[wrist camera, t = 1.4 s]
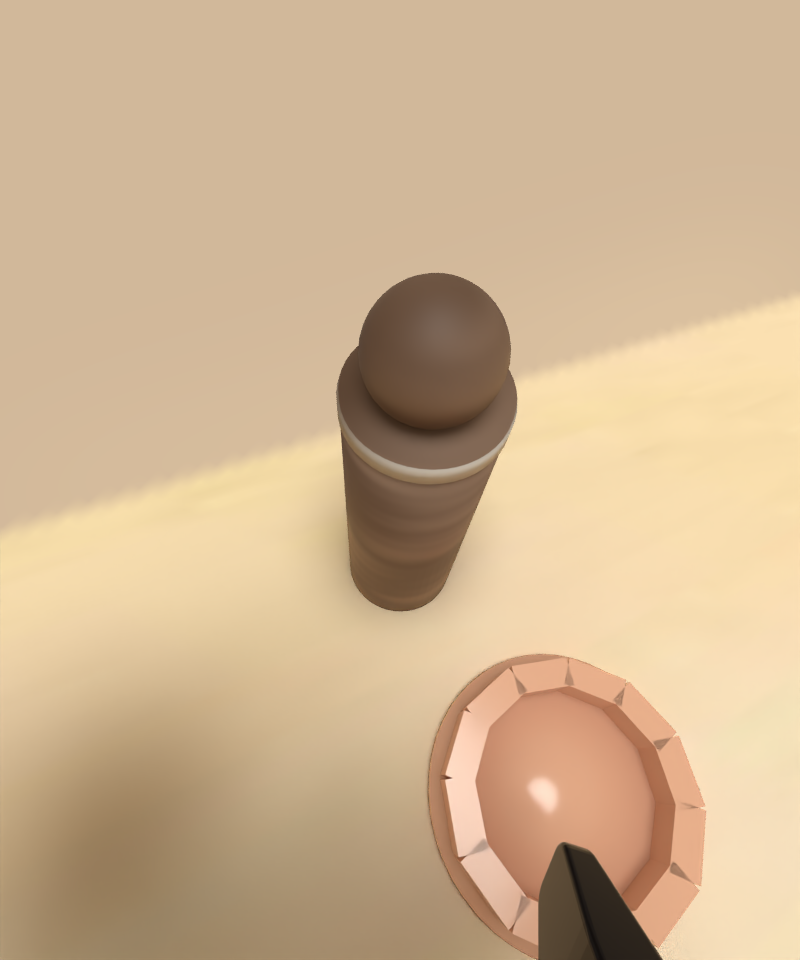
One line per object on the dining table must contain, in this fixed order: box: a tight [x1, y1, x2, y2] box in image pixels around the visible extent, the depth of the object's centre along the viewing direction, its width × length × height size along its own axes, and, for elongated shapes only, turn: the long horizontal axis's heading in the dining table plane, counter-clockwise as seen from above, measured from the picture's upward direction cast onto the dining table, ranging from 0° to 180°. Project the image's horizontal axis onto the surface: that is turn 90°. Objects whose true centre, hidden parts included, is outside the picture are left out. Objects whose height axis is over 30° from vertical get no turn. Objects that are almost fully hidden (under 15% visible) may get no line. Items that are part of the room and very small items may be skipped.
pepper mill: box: [336, 273, 517, 611], centre depth 17 cm, size 4×4×15 cm
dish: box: [429, 654, 706, 959], centre depth 18 cm, size 10×10×2 cm
